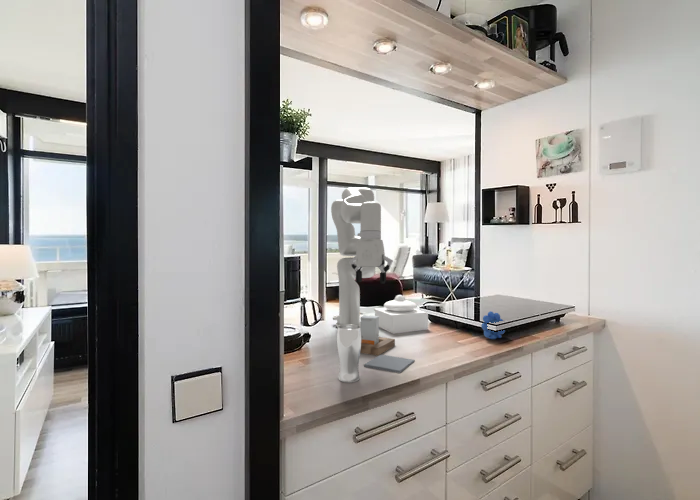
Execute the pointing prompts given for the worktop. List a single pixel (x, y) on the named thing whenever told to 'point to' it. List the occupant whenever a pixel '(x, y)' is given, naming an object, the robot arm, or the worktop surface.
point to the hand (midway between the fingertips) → (370, 282)
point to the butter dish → (401, 316)
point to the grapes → (491, 318)
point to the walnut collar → (378, 346)
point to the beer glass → (349, 352)
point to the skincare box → (369, 329)
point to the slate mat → (389, 363)
